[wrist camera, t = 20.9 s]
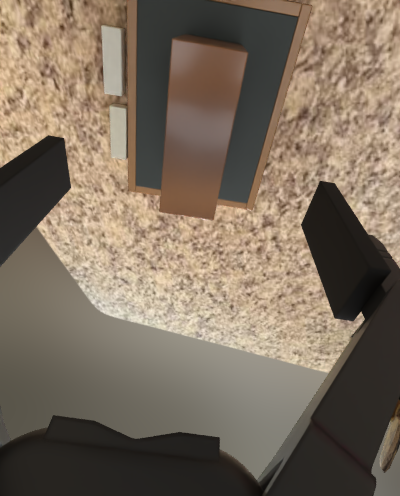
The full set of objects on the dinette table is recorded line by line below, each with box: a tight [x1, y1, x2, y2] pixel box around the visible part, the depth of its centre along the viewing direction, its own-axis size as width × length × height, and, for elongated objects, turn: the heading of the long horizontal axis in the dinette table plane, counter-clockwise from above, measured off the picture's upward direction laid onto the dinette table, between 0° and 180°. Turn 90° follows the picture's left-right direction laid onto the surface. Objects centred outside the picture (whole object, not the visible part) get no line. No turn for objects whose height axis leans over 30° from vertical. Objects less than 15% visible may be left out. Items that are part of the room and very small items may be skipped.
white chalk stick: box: [109, 103, 128, 160], centre depth 29 cm, size 5×1×2 cm
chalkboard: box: [127, 0, 312, 210], centre depth 28 cm, size 18×14×1 cm
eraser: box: [159, 34, 248, 220], centre depth 24 cm, size 12×5×8 cm, turn 172°
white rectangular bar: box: [101, 25, 125, 96], centre depth 26 cm, size 5×1×2 cm
